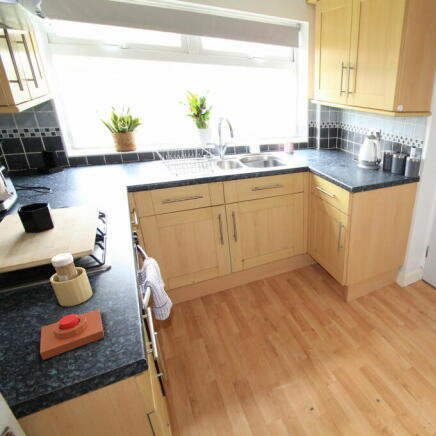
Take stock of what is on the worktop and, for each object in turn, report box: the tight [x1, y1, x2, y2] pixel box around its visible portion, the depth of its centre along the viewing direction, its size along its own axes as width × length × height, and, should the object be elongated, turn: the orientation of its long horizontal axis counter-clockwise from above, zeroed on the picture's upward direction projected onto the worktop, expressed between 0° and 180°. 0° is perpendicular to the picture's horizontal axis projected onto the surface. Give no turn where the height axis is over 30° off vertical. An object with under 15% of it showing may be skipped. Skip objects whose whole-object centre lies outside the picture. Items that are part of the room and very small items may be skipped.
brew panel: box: [39, 308, 105, 361], centre depth 80 cm, size 12×10×4 cm
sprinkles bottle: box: [50, 252, 78, 282], centre depth 91 cm, size 5×5×14 cm
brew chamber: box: [49, 266, 93, 307], centre depth 92 cm, size 8×8×8 cm
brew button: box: [58, 313, 79, 330], centre depth 79 cm, size 4×4×2 cm
